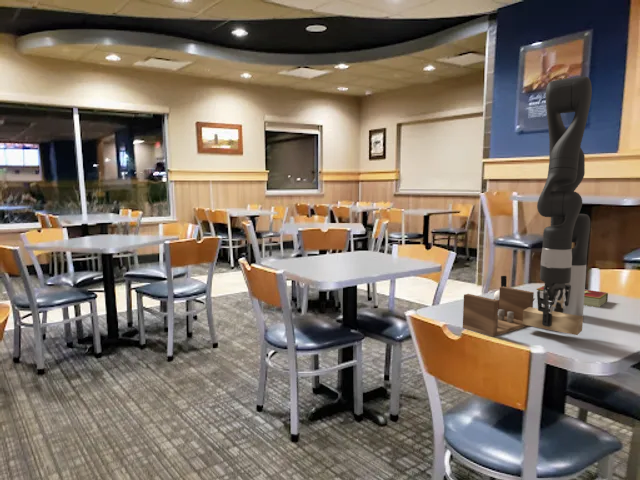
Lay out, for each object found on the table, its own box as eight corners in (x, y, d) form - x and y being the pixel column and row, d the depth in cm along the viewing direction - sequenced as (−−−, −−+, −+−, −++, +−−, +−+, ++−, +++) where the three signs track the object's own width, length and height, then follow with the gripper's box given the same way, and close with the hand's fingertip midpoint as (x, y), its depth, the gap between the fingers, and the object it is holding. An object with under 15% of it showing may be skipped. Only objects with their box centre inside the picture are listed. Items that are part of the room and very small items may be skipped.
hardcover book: (546, 293, 178) (546, 283, 178) (607, 303, 164) (608, 291, 163) (535, 299, 170) (536, 288, 169) (599, 309, 155) (600, 297, 155)
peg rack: (501, 317, 143) (503, 286, 142) (531, 324, 135) (533, 292, 134) (462, 327, 132) (463, 294, 130) (492, 336, 123) (494, 301, 122)
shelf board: (522, 324, 127) (523, 310, 127) (528, 320, 131) (529, 307, 130) (577, 335, 118) (578, 320, 117) (582, 330, 121) (583, 316, 121)
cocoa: (499, 307, 157) (496, 273, 157) (517, 308, 153) (515, 273, 153) (489, 311, 149) (487, 275, 149) (509, 312, 145) (506, 275, 145)
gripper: (555, 259, 129) (552, 316, 131) (528, 265, 121) (525, 325, 123) (582, 263, 123) (579, 322, 125) (556, 269, 115) (552, 332, 117)
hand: (552, 323), depth 124 cm, fingers closed on shelf board, 5 cm apart
